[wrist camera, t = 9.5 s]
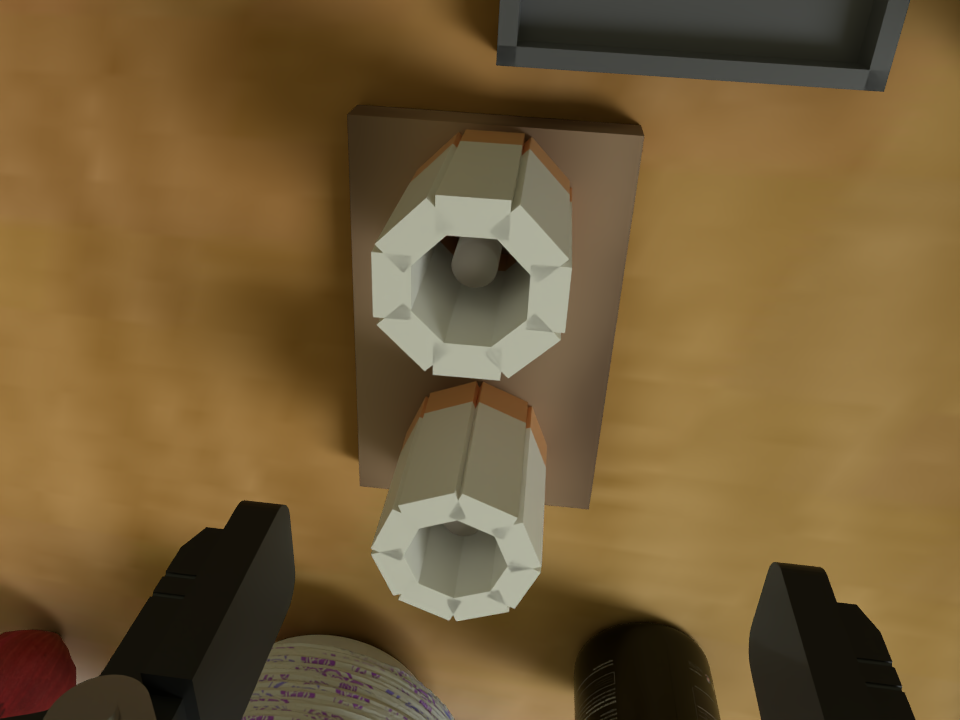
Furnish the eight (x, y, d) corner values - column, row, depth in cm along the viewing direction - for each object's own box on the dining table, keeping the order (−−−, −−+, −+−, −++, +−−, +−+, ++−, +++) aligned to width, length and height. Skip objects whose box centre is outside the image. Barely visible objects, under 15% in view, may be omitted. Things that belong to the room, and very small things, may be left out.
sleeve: (576, 136, 27) (578, 205, 21) (562, 286, 30) (559, 385, 24) (414, 125, 27) (369, 190, 21) (413, 275, 30) (374, 369, 24)
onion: (-20, 620, 45) (-128, 752, 38) (45, 582, 43) (-57, 714, 36) (60, 682, 47) (-28, 818, 40) (125, 649, 45) (44, 786, 38)
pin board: (640, 125, 28) (658, 181, 22) (588, 487, 36) (591, 595, 30) (357, 104, 29) (305, 154, 23) (367, 465, 37) (330, 567, 31)
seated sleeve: (518, 370, 32) (505, 481, 26) (559, 478, 34) (556, 603, 28) (390, 403, 33) (350, 515, 27) (439, 504, 35) (411, 629, 29)
